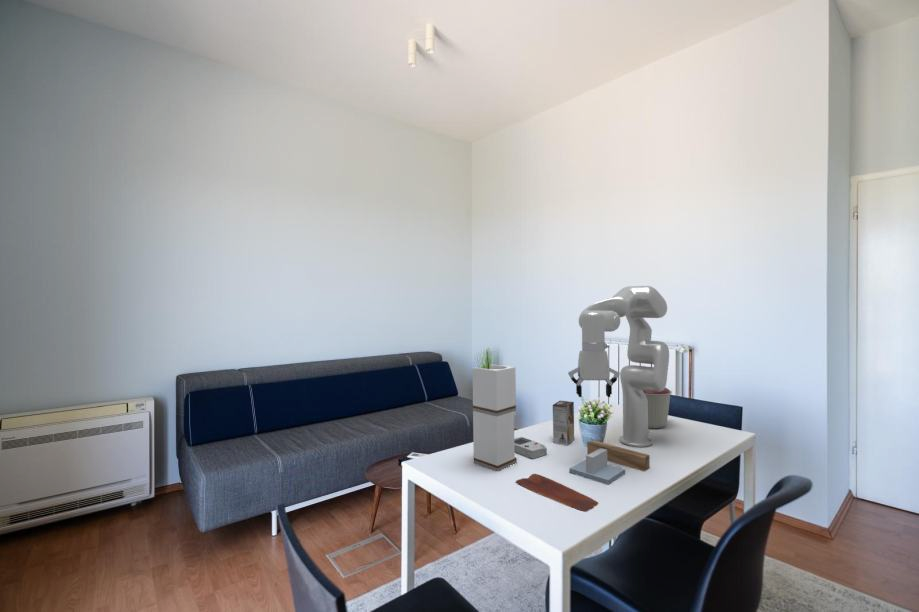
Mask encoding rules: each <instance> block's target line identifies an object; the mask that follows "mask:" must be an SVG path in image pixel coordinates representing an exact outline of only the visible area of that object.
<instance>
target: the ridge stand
mask: <svg viewBox="0 0 919 612" xmlns="http://www.w3.org/2000/svg"><path fill="white" fill-rule="evenodd" d="M568 472H569V474H573V475H576V476H578V477H579V476H580V477H583V478H586V479H589V480H592V481H595V482H599V483H601V484H604V485H608V486H609V485H611V484H612V483H613V482H615V481H617V480H618V479H619V478H621V477H622V476H624V475H625V474H626V470H625V468H621V467H618V466H614V465H611V464H608V461H607V450H606V449H602V448H600V449H598V450H596V451H594V452H592V453H590V454H587V455H585V459H584V460H582V461H581V462H579V463H577V464H575V465H572V466H571V467H569V471H568Z"/></svg>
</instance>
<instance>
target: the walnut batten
mask: <svg viewBox="0 0 919 612" xmlns="http://www.w3.org/2000/svg"><path fill="white" fill-rule="evenodd" d="M586 447H587V455H588V454H590V453H592V452H594V451H596V450H598V449H600V448H602V449H606V450H607V462H611V463H613V464H617V465H621V466H623V467H628V468H631V469H634V470H638V471H641V472H646V471H648V470H649V468H650V469H651V467H650V461H651V460H650V454H647V453H643V452H639V451H636V450H632V449H628V448H624V447H620V446H616V445H613V444H609V443H606V442H601V441H597V440H594V439H593V440H590V441H588V442H587V446H586Z"/></svg>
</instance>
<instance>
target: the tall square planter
mask: <svg viewBox="0 0 919 612" xmlns="http://www.w3.org/2000/svg"><path fill="white" fill-rule="evenodd" d="M489 367H490V368H482V367H475V366H474V367H471V368H472V369H471V370H472V372H471V373H472V427H473V429H472V430H473V431H472V433H473V435H472V437H473V441H472V442H473V464H475V465H477V464H478V465H477V466H480V465H481V467H483V466H484V467H483V468H486V467H487V468H486V469H489V470H491V469H492V471H494V470H495V472H497V471H498V472H500V471H502V469H503V470H505V469H507V468H509V467H511V466H510V465H512V466H513V464H514V465H516V464H518V463H517V459H518V458H517V457H516V455H515V453H516V452H514V439H515V416H516V415H517V397H516V396H517V394H516V392H517V389H516V388H517V387H516V385H517V383H516V381H517V380H516V367H515V366H509V365H503V364H502V365H500V364H492V363H491V364H489ZM515 463H516V464H515ZM508 466H509V467H508ZM506 467H507V468H506ZM504 468H505V469H504Z"/></svg>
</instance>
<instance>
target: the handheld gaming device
mask: <svg viewBox="0 0 919 612" xmlns="http://www.w3.org/2000/svg"><path fill="white" fill-rule="evenodd" d="M547 451H548V448H547V446H546V445H545V444H542V443H541V442H538V441H535V440H532V439H530V438H526V437H524V436H519V437H514V453H517V454H519V455H521V456H524V457H526V458H529V459H532V460H534V459H536V458H540V457H543V456H546V455H547V454H548V453H547Z"/></svg>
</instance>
